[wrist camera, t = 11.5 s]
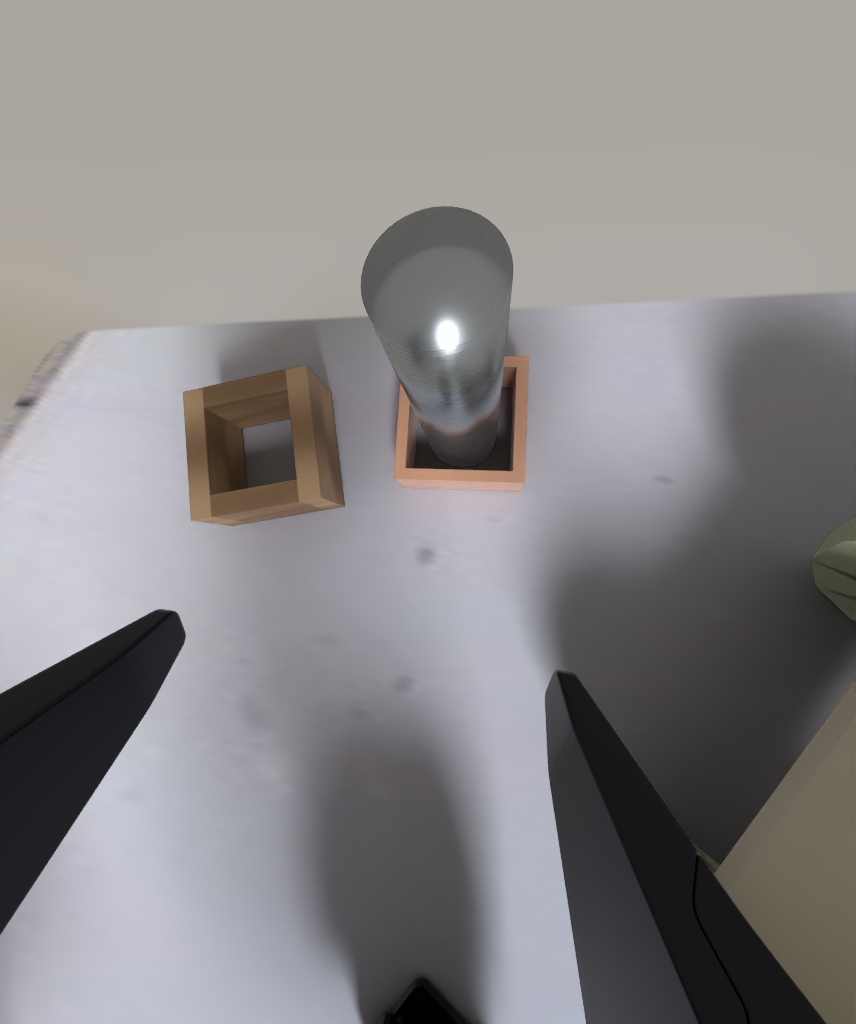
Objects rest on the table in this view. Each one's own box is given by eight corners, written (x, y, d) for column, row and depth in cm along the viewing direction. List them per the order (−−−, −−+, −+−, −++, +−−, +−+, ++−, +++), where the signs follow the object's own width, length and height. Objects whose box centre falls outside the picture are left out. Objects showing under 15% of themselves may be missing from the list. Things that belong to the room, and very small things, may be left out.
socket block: (519, 491, 22) (524, 483, 19) (403, 487, 23) (393, 478, 20) (523, 377, 23) (528, 355, 20) (410, 378, 24) (402, 357, 21)
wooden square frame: (344, 506, 23) (320, 497, 20) (232, 525, 24) (191, 520, 21) (331, 392, 24) (305, 364, 21) (223, 414, 25) (183, 391, 22)
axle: (509, 442, 22) (544, 288, 10) (451, 479, 23) (409, 378, 10) (472, 389, 23) (459, 178, 10) (416, 425, 23) (334, 263, 10)
